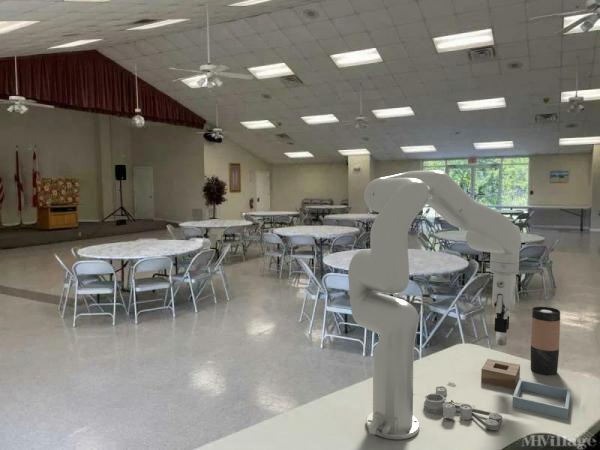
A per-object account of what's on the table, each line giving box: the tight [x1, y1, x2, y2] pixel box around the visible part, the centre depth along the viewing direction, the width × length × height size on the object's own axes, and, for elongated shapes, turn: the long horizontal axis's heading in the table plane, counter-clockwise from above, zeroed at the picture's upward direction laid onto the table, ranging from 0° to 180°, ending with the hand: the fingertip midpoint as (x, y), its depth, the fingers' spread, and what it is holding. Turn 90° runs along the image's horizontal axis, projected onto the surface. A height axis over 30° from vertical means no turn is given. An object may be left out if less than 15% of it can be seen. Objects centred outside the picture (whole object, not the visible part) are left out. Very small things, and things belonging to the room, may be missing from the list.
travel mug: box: [530, 306, 561, 377], centre depth 140 cm, size 8×8×20 cm
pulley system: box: [423, 381, 503, 431], centre depth 121 cm, size 27×5×15 cm
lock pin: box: [495, 310, 510, 347], centre depth 133 cm, size 4×4×10 cm
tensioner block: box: [480, 358, 521, 391], centre depth 135 cm, size 9×9×5 cm
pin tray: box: [511, 378, 571, 420], centre depth 121 cm, size 12×12×4 cm
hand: (501, 329), depth 133 cm, fingers closed on lock pin, 2 cm apart
